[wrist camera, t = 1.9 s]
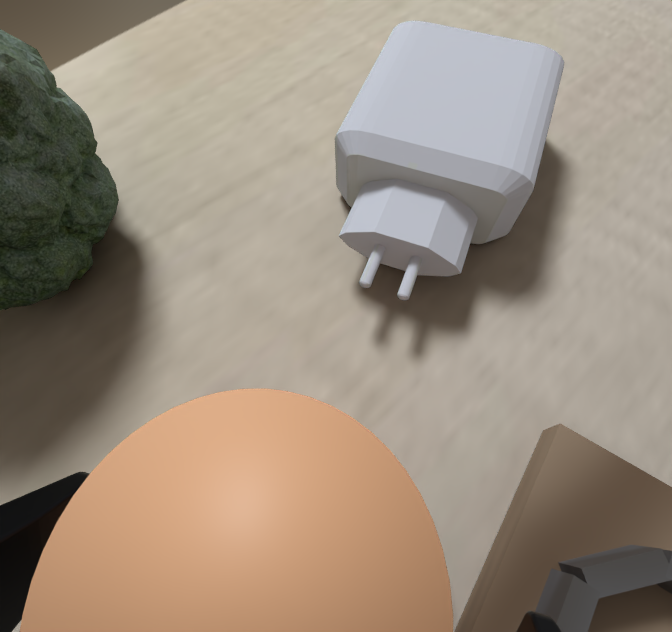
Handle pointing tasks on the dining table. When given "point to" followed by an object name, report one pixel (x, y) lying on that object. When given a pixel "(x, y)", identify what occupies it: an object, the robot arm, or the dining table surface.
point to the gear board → (579, 545)
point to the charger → (442, 146)
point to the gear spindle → (244, 529)
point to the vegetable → (45, 181)
